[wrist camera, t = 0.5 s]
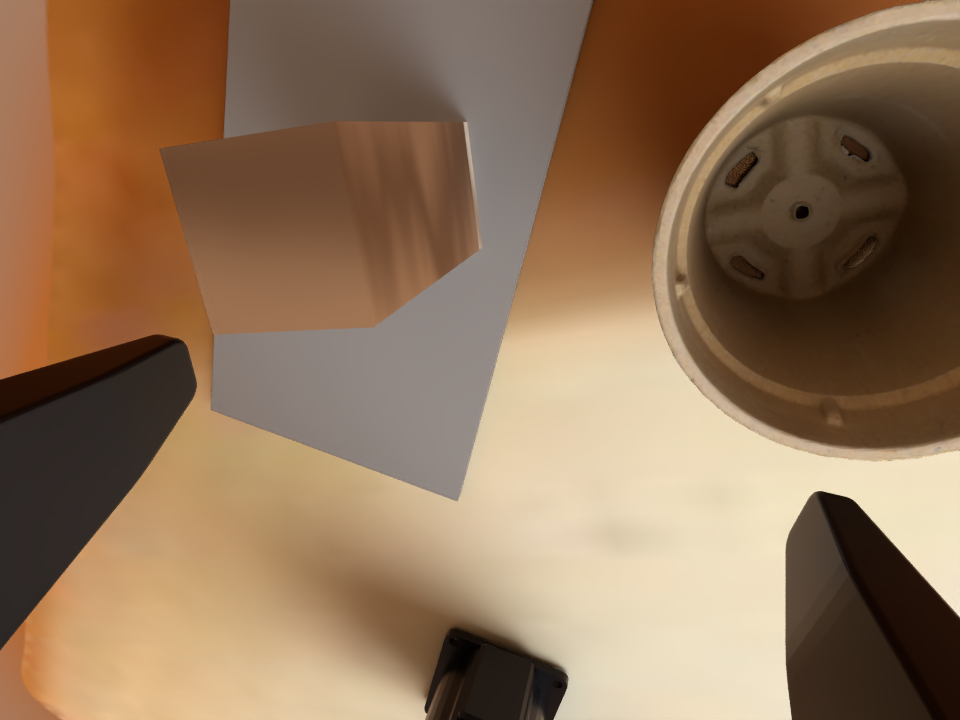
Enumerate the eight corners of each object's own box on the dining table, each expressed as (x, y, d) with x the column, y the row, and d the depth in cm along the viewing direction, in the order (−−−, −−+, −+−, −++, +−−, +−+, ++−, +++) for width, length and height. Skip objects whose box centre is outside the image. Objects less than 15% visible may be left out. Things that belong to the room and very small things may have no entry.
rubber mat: (459, 496, 28) (457, 501, 28) (216, 406, 30) (210, 409, 29) (608, -56, 19) (607, -59, 18) (243, -134, 21) (236, -139, 20)
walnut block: (482, 247, 23) (373, 327, 14) (376, 256, 24) (212, 334, 15) (467, 121, 21) (333, 120, 12) (354, 138, 23) (159, 148, 14)
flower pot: (695, 30, 19) (724, -34, 11) (1028, 73, 17) (1335, 33, 10) (624, 308, 23) (609, 404, 15) (891, 366, 21) (1030, 509, 13)
